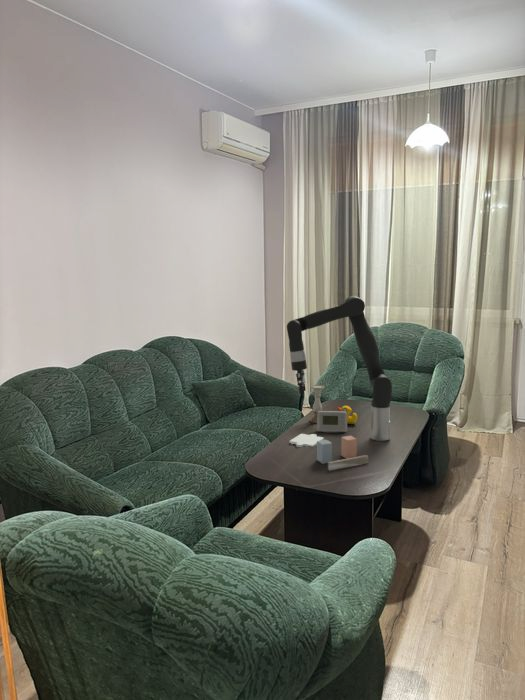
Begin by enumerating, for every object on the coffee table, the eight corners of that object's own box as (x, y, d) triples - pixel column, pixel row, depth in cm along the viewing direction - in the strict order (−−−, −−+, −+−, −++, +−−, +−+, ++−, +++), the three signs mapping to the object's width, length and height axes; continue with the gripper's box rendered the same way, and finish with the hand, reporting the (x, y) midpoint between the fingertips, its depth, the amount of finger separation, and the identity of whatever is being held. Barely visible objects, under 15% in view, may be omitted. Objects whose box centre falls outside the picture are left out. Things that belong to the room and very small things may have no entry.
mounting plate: (303, 435, 283) (303, 432, 282) (326, 439, 276) (326, 436, 276) (286, 446, 268) (286, 442, 267) (310, 450, 261) (310, 447, 261)
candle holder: (324, 423, 301) (324, 388, 297) (308, 423, 302) (308, 387, 299) (325, 419, 309) (326, 384, 306) (310, 418, 311) (310, 384, 307)
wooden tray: (313, 461, 246) (313, 452, 246) (351, 454, 254) (351, 446, 253) (329, 472, 234) (329, 463, 233) (368, 464, 242) (368, 456, 241)
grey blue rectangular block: (316, 460, 246) (316, 441, 244) (326, 458, 248) (326, 439, 246) (322, 463, 241) (322, 444, 240) (332, 462, 243) (332, 443, 242)
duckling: (335, 423, 301) (335, 406, 300) (339, 420, 306) (339, 403, 304) (355, 426, 296) (355, 408, 294) (358, 423, 301) (358, 406, 299)
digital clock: (315, 432, 287) (315, 412, 285) (319, 427, 295) (319, 408, 294) (345, 434, 282) (346, 415, 280) (348, 429, 291) (348, 410, 289)
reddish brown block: (341, 455, 251) (341, 437, 249) (350, 453, 253) (350, 435, 251) (347, 459, 246) (347, 440, 245) (356, 457, 248) (356, 438, 247)
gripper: (304, 360, 259) (309, 393, 259) (306, 357, 273) (311, 389, 273) (289, 362, 260) (293, 395, 261) (292, 359, 274) (296, 391, 275)
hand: (302, 392), depth 267 cm, fingers open, 8 cm apart
